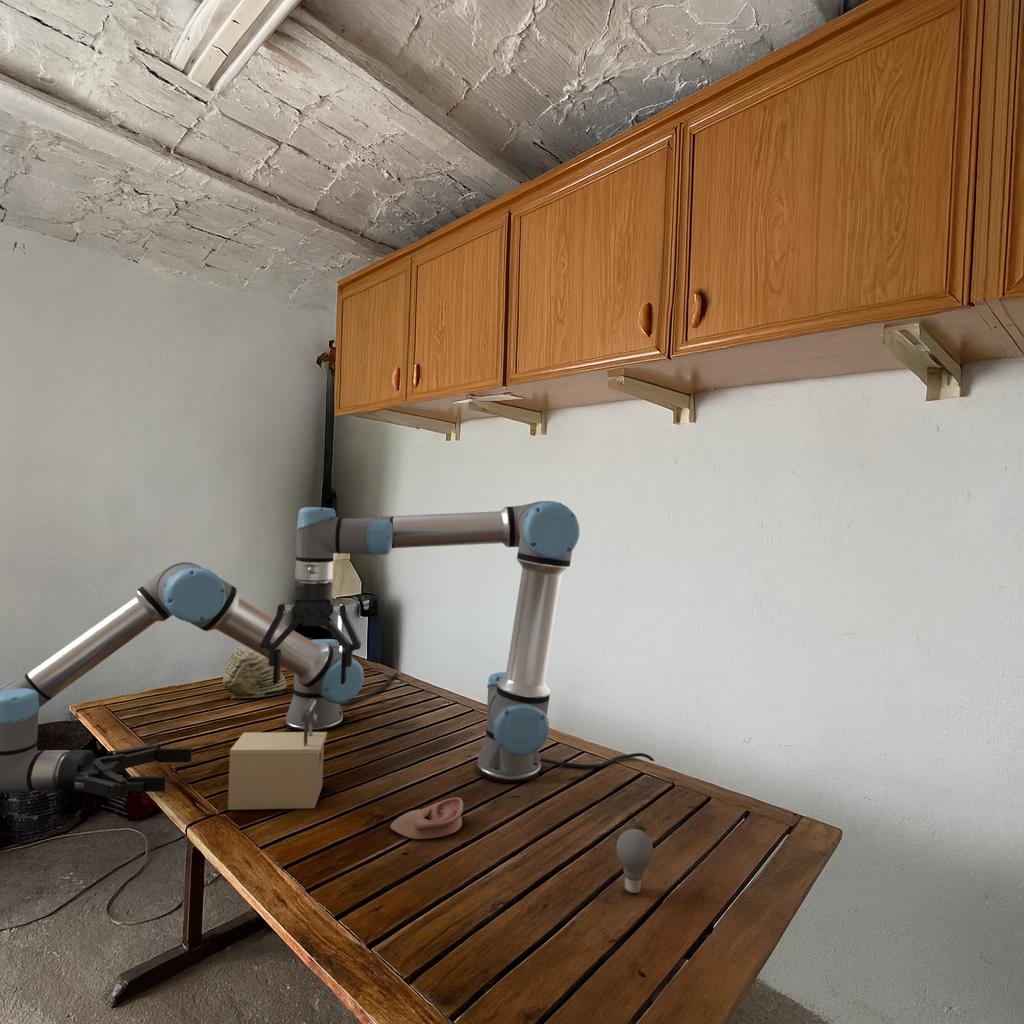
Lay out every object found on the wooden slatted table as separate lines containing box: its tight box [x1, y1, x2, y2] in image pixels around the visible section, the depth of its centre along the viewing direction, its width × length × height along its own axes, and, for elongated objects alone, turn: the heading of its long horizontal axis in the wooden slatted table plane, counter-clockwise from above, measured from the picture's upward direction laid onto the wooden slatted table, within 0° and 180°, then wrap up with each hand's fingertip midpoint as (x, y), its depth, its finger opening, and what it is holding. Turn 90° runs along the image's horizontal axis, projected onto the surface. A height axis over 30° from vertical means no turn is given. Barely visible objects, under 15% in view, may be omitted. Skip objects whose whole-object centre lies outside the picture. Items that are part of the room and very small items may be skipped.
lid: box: [229, 698, 328, 756], centre depth 132 cm, size 17×10×9 cm, turn 98°
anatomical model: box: [390, 797, 464, 840], centre depth 124 cm, size 13×4×12 cm
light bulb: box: [615, 828, 654, 894], centre depth 106 cm, size 6×6×10 cm
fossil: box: [222, 646, 288, 699], centre depth 198 cm, size 9×18×15 cm, turn 132°
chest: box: [227, 744, 325, 811], centre depth 132 cm, size 17×10×11 cm, turn 98°
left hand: (178, 768), depth 130 cm, fingers open, 13 cm apart
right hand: (310, 682), depth 133 cm, fingers open, 13 cm apart
